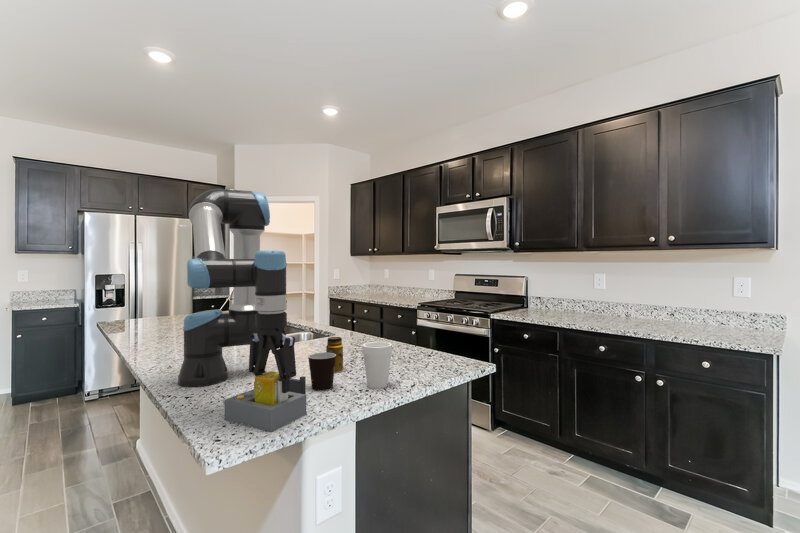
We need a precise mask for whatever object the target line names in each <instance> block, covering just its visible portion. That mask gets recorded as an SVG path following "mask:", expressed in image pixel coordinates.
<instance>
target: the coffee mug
mask: <svg viewBox="0 0 800 533" xmlns="http://www.w3.org/2000/svg"><path fill="white" fill-rule="evenodd" d="M307 358H308V365H309V366H308V367H309V372H310V373H309V374H310V382H311V390H314V391H318V392H319V391H321V392H322V391H329V390H331V389H333V387H334V378H335V373H334V370H335V360H336V354H334V353H326V352H316V353H312V354H309V355H308V356H307Z"/></svg>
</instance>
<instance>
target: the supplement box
mask: <svg viewBox="0 0 800 533" xmlns="http://www.w3.org/2000/svg"><path fill="white" fill-rule="evenodd" d="M284 375H285V374H284ZM278 379H280V376H279V372H278V371H272V370H269V371H266V373H263V374H262V375H259V376H257V377H255V376H254V381H255V403H260V404H265V405H269V406H272V405H275V404H277V403H278Z"/></svg>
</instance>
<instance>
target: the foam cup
mask: <svg viewBox="0 0 800 533" xmlns="http://www.w3.org/2000/svg"><path fill="white" fill-rule="evenodd" d="M361 346H362V347H361V349H362V354H363V362H364V368H365V369H364V370H365V375H366V384H367V387H368V388H370V389H383V388H386V387H388V383H389V376H390V375H389V374H390V366H391V358H392V353H393V343H392V342H387V341H372V342H370V341H369V342H365V343H363V344H362V345H361Z"/></svg>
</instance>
